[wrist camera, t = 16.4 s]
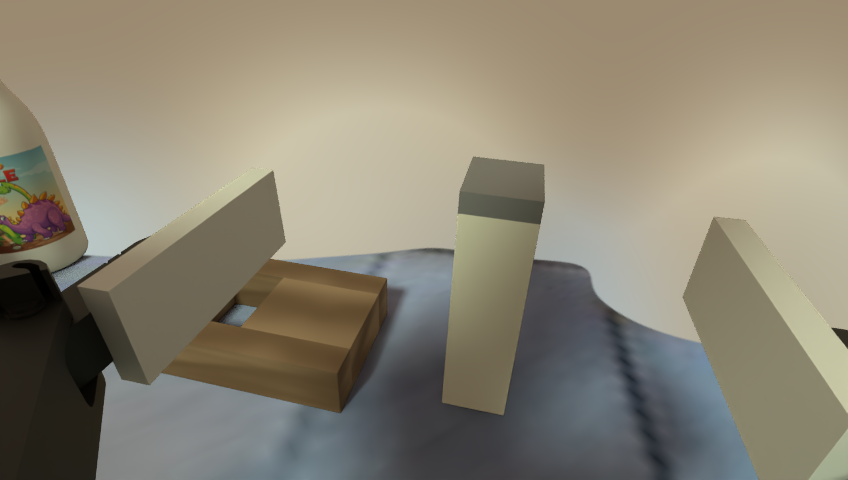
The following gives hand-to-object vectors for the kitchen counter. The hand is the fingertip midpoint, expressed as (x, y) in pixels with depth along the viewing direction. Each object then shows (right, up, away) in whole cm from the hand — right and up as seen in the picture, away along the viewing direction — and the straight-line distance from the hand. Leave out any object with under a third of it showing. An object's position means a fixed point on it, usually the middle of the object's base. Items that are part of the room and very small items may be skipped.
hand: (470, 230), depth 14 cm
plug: (+2, -10, +17) cm, 20 cm away
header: (-15, -7, +20) cm, 26 cm away
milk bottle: (-37, -2, +28) cm, 46 cm away
